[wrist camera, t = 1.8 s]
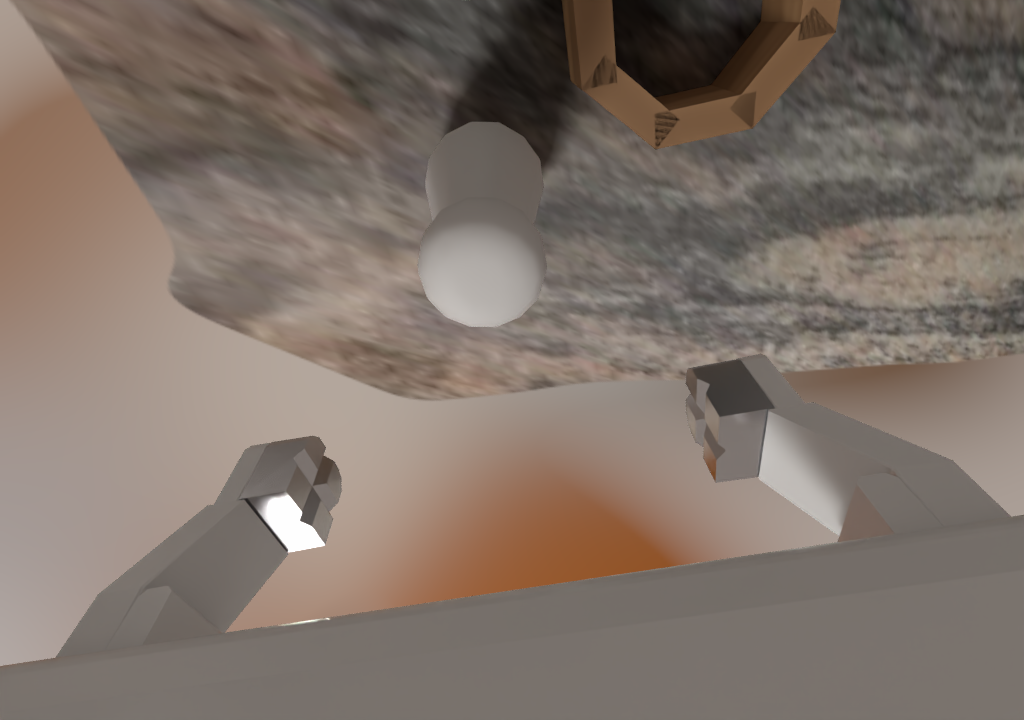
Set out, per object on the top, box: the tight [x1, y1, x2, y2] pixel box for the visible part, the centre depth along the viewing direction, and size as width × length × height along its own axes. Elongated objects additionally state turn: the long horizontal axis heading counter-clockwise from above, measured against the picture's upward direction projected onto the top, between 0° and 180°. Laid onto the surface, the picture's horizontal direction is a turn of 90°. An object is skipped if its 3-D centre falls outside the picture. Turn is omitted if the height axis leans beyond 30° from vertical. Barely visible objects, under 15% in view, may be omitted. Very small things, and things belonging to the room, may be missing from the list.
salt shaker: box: [418, 122, 547, 327], centre depth 21 cm, size 6×6×13 cm
